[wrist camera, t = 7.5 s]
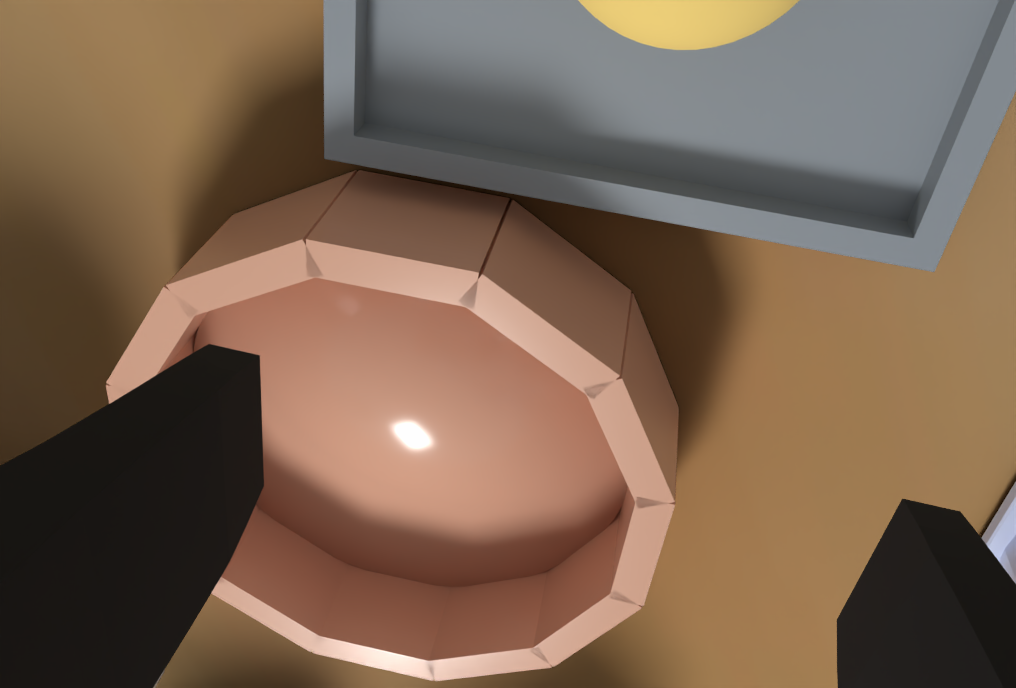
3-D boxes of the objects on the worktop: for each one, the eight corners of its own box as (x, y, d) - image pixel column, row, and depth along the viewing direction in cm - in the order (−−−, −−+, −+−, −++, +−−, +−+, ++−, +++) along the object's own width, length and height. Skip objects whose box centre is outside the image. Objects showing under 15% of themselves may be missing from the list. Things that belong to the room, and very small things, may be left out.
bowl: (728, 238, 19) (731, 321, 16) (617, 621, 26) (607, 721, 24) (153, 131, 20) (70, 193, 17) (200, 529, 27) (147, 614, 25)
